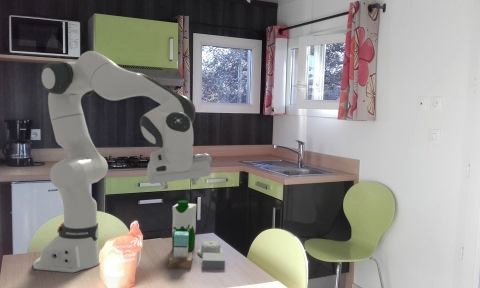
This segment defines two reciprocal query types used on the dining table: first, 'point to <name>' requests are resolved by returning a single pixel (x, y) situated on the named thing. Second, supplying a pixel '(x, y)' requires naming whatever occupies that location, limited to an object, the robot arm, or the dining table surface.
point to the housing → (181, 244)
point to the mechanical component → (210, 248)
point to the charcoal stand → (213, 261)
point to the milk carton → (184, 221)
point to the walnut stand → (180, 261)
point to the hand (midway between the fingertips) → (179, 185)
